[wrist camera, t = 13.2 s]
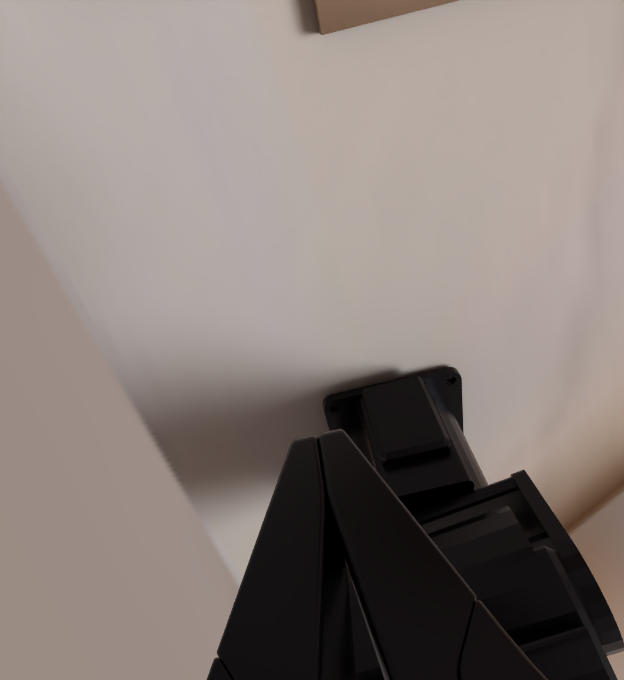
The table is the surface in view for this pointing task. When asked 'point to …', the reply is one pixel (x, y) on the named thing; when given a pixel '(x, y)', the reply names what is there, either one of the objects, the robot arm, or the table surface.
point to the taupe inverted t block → (364, 11)
